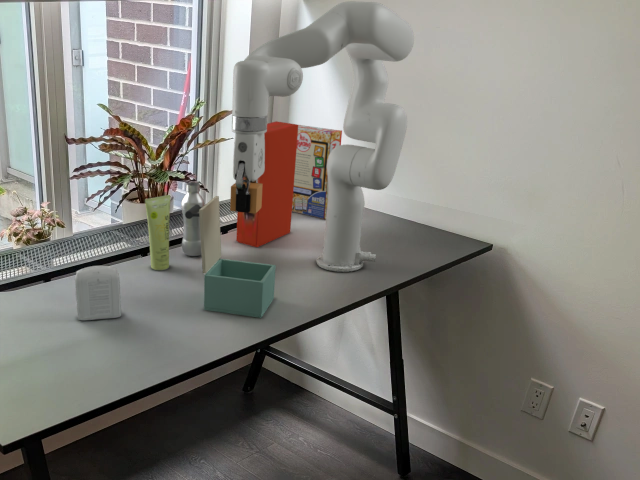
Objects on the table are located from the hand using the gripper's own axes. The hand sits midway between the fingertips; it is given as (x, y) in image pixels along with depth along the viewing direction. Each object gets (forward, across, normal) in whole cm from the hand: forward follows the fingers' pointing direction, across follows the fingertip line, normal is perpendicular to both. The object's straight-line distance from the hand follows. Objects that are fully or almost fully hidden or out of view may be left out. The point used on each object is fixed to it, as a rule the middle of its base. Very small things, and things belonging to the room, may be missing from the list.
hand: (246, 207), depth 164 cm
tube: (+24, +17, +28) cm, 41 cm away
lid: (+7, 0, +8) cm, 11 cm away
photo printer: (+24, -17, +30) cm, 42 cm away
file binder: (+24, +51, +8) cm, 57 cm away
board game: (+23, +82, +2) cm, 85 cm away
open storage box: (+24, 0, +1) cm, 24 cm away
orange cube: (0, 0, 0) cm, 0 cm away
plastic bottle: (+24, +30, +23) cm, 45 cm away
